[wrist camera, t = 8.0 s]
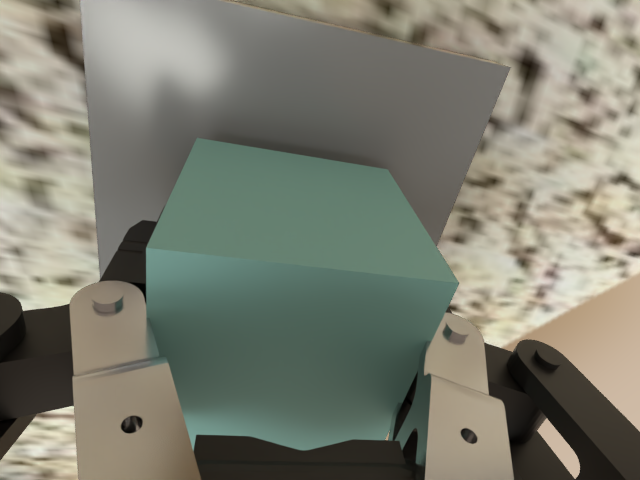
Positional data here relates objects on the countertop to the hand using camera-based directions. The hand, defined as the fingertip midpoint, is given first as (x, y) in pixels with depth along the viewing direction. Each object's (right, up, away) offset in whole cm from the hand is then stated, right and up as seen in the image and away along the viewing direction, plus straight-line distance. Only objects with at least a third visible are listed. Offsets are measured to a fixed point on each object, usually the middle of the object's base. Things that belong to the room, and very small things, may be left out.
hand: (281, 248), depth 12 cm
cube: (0, 0, +1) cm, 1 cm away
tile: (0, +2, +3) cm, 3 cm away
